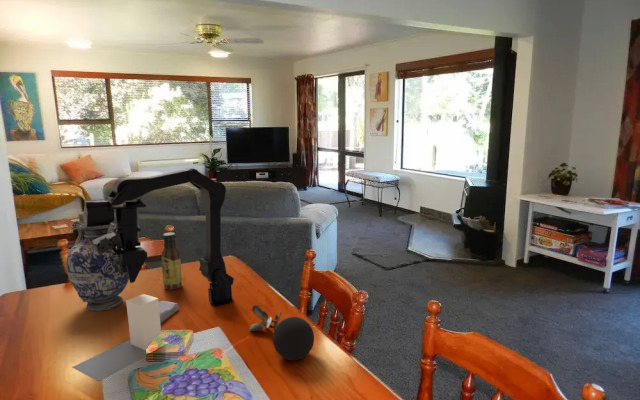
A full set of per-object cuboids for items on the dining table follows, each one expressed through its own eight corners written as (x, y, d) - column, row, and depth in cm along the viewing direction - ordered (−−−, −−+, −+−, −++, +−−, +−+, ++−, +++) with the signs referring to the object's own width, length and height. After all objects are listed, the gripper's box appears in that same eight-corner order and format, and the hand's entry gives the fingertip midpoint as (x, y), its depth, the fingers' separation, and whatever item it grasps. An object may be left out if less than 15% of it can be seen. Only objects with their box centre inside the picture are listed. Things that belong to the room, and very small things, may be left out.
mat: (153, 330, 116) (153, 328, 115) (179, 340, 110) (179, 338, 110) (72, 370, 97) (72, 367, 97) (99, 384, 91) (98, 381, 91)
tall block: (148, 335, 111) (144, 293, 109) (162, 341, 108) (158, 298, 106) (130, 344, 107) (126, 300, 105) (145, 350, 104) (140, 305, 102)
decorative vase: (54, 310, 130) (44, 224, 125) (104, 290, 147) (97, 213, 142) (104, 321, 122) (95, 229, 117) (151, 298, 139) (144, 217, 134)
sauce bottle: (161, 286, 148) (156, 233, 145) (179, 282, 152) (174, 230, 149) (167, 292, 143) (162, 236, 140) (185, 287, 147) (180, 233, 144)
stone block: (130, 332, 119) (159, 328, 117) (125, 317, 119) (155, 312, 116) (154, 316, 130) (182, 312, 128) (150, 301, 130) (178, 297, 128)
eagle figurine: (282, 319, 119) (253, 311, 120) (281, 306, 114) (251, 298, 115) (273, 343, 113) (243, 335, 115) (272, 330, 108) (240, 322, 110)
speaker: (318, 348, 105) (317, 311, 103) (308, 371, 95) (307, 330, 93) (281, 344, 107) (279, 308, 105) (267, 366, 97) (266, 326, 95)
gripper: (89, 219, 117) (91, 271, 119) (99, 234, 102) (102, 294, 104) (131, 216, 123) (132, 266, 126) (147, 229, 108) (148, 286, 111)
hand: (128, 277), depth 116 cm, fingers open, 9 cm apart
